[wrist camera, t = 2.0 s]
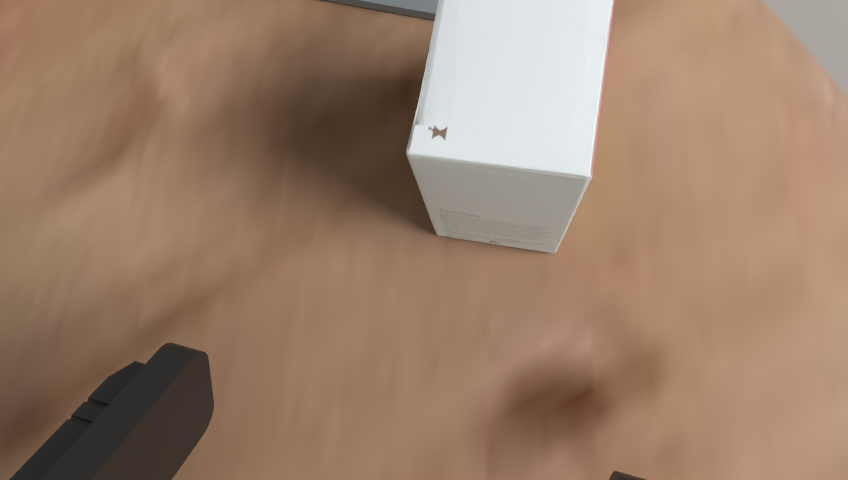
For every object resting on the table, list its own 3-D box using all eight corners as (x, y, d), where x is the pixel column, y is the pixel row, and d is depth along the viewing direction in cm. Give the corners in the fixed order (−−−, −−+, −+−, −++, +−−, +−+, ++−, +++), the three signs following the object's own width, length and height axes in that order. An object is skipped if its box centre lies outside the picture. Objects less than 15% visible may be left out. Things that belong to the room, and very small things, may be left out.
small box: (556, 256, 28) (594, 186, 17) (433, 237, 28) (401, 158, 18) (579, 92, 29) (628, -61, 19) (462, 78, 30) (448, -77, 20)
